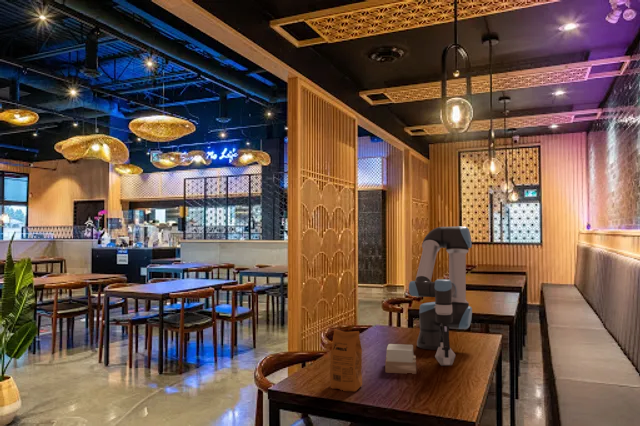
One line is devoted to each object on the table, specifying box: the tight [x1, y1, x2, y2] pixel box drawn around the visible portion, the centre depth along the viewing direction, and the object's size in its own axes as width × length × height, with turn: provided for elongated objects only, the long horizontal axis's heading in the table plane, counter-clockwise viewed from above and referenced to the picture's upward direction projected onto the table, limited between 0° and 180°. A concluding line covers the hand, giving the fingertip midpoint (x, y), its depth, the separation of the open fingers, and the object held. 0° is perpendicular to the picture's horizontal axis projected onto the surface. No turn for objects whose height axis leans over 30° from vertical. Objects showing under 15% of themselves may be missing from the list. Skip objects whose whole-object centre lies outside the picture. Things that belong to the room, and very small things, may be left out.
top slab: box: [386, 343, 414, 363], centre depth 198 cm, size 11×11×5 cm
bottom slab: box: [384, 354, 417, 375], centre depth 198 cm, size 13×13×5 cm
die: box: [434, 347, 456, 366], centre depth 204 cm, size 8×9×10 cm
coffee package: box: [329, 328, 363, 392], centre depth 175 cm, size 10×12×22 cm
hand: (445, 360), depth 204 cm, fingers open, 13 cm apart
